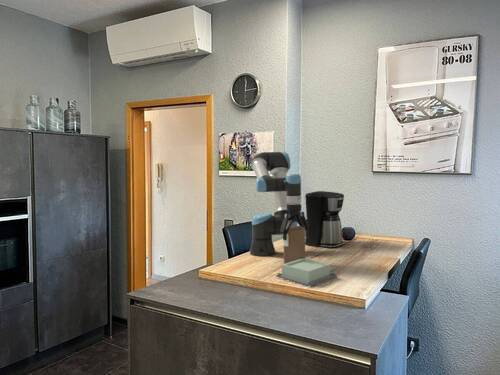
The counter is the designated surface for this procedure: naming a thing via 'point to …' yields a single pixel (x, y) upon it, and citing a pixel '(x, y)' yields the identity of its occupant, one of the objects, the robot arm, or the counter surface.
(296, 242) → the block
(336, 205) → the coffee maker
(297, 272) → the plate
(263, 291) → the counter surface
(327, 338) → the counter surface
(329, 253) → the counter surface
